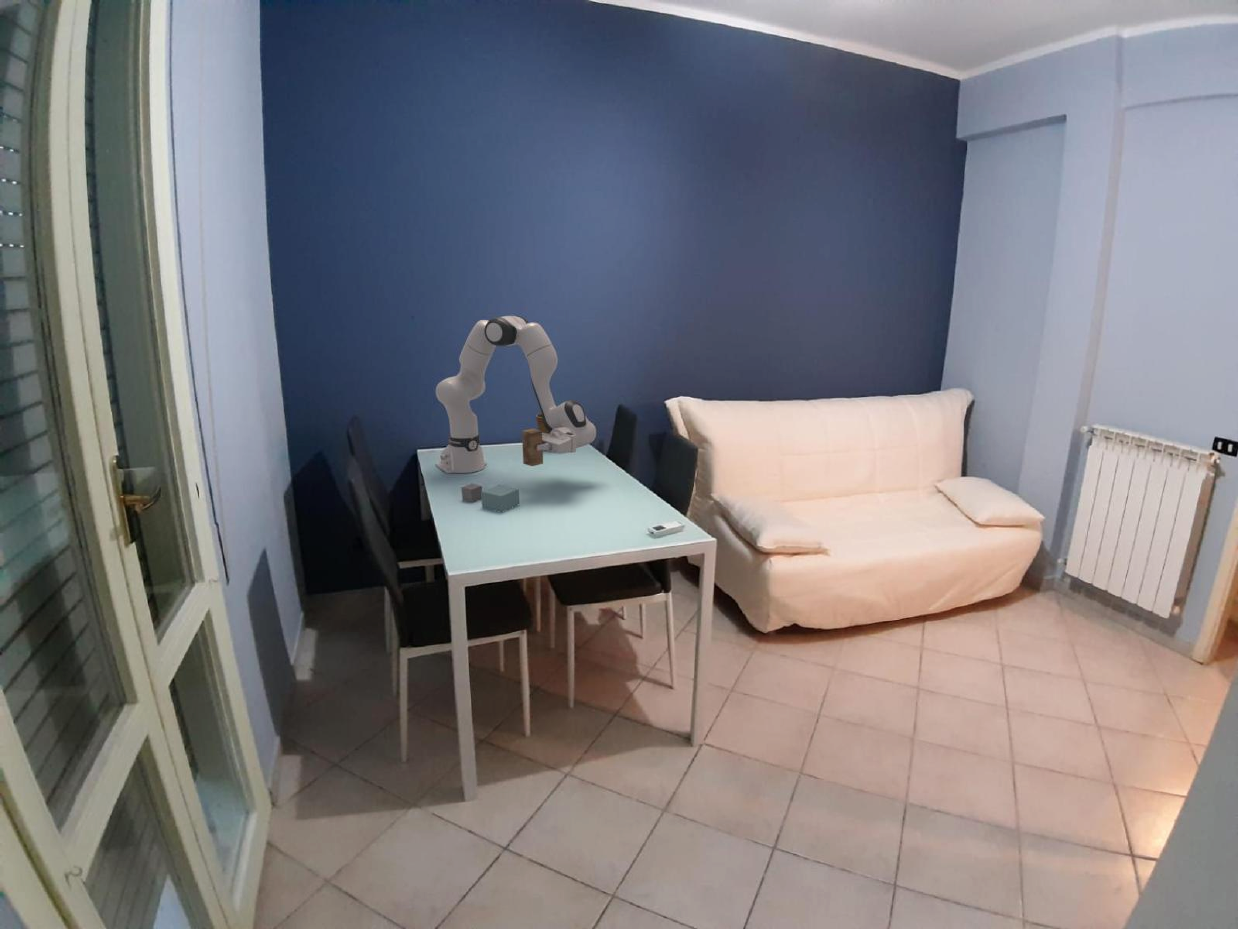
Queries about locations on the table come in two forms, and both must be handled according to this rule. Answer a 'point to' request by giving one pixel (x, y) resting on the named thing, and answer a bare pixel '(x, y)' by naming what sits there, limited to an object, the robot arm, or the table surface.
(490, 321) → the robot arm
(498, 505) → the teal base block
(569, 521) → the table surface
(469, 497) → the charcoal cube
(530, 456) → the walnut block
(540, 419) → the plant pot
